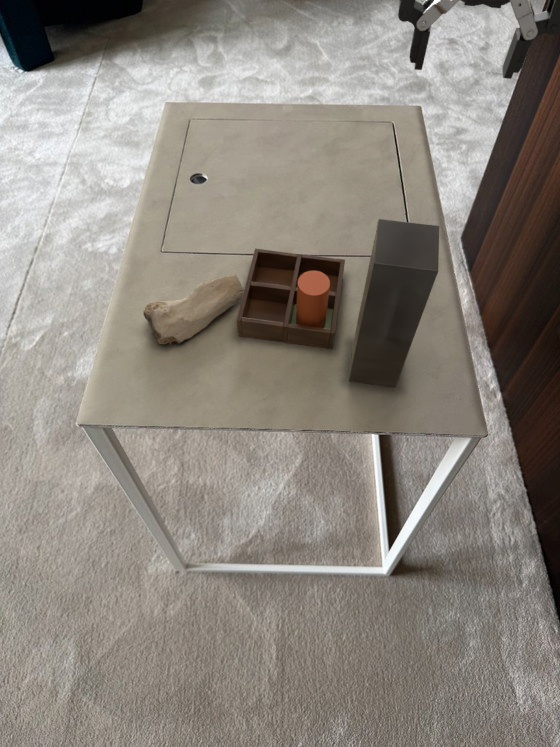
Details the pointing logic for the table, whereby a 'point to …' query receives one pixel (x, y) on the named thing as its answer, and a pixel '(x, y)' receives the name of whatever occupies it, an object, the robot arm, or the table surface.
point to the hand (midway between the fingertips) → (462, 69)
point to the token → (312, 299)
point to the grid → (286, 298)
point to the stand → (393, 299)
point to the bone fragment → (192, 309)
